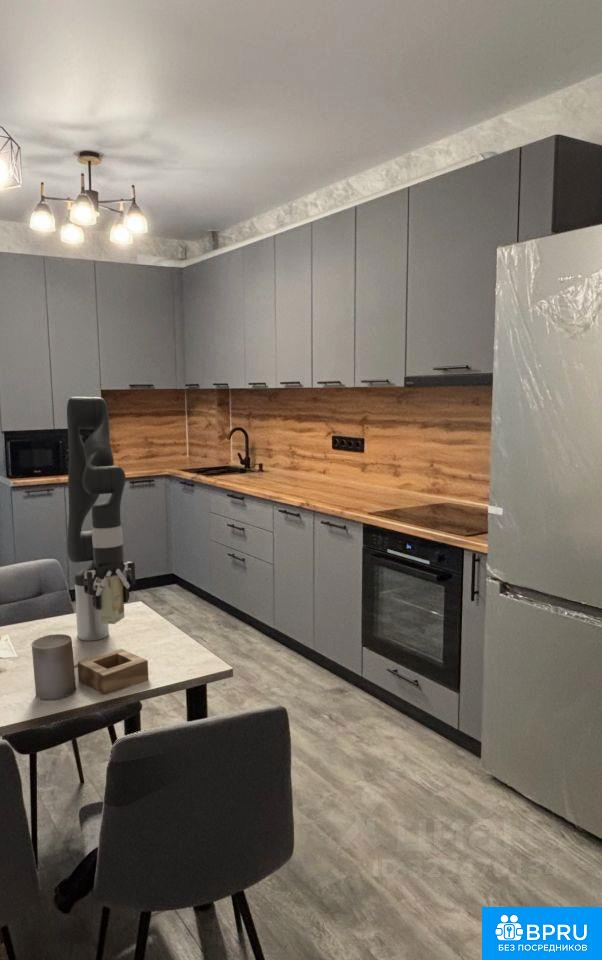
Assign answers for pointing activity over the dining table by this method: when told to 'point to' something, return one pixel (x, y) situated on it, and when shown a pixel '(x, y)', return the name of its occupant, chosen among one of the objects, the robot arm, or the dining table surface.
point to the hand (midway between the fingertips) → (111, 605)
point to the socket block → (112, 671)
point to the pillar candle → (53, 666)
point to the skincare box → (111, 601)
